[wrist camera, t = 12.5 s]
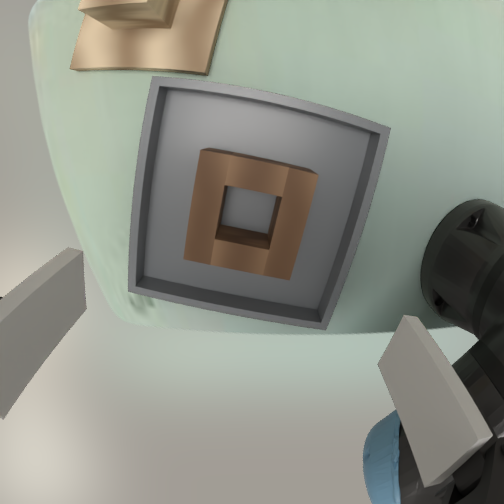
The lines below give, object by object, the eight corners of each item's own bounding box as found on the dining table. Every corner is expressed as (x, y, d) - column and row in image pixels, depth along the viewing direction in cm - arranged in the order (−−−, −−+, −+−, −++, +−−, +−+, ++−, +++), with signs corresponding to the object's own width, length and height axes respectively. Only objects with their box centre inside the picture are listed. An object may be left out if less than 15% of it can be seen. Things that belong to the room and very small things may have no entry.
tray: (377, 128, 24) (390, 128, 22) (320, 313, 32) (325, 330, 29) (163, 81, 23) (152, 76, 20) (138, 277, 31) (128, 291, 28)
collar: (309, 168, 25) (318, 174, 22) (285, 261, 29) (289, 280, 25) (208, 147, 25) (200, 149, 21) (192, 242, 28) (183, 259, 25)
